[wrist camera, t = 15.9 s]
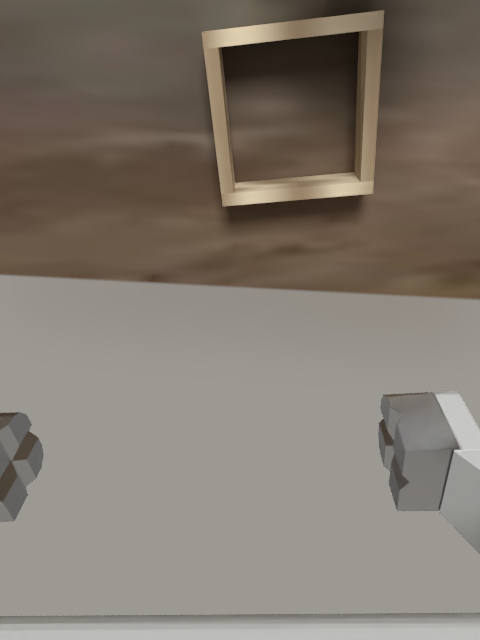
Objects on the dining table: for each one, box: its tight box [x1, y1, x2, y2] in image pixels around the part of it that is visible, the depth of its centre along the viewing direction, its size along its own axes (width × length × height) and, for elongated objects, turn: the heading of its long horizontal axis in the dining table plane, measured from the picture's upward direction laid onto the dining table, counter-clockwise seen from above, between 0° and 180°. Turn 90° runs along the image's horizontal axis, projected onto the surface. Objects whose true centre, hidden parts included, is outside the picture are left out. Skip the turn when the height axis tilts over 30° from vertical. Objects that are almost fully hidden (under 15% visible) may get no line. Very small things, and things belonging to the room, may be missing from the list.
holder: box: [202, 10, 384, 206], centre depth 34 cm, size 12×12×3 cm
